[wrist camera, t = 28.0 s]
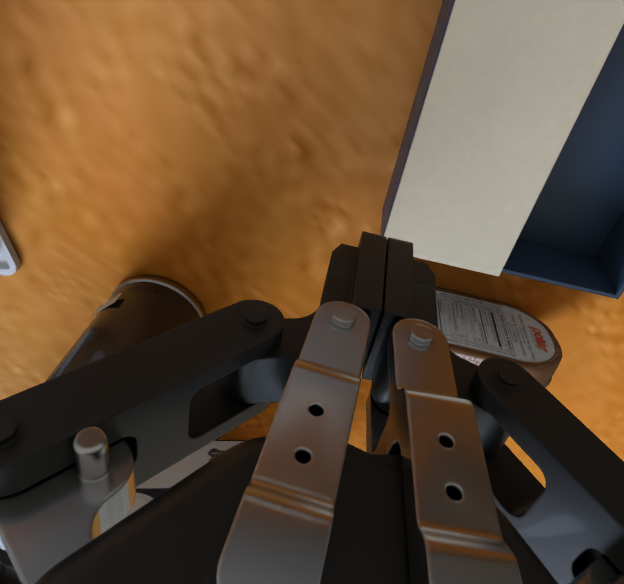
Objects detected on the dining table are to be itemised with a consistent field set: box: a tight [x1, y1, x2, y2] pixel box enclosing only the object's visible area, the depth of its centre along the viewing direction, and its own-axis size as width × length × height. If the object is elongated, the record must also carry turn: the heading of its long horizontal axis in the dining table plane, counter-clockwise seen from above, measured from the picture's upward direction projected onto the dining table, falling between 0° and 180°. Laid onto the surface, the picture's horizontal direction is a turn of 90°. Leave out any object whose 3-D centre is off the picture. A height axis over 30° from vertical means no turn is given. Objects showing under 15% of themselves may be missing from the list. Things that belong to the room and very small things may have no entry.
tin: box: [435, 287, 562, 388], centre depth 40 cm, size 15×3×8 cm, turn 80°
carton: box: [380, 0, 624, 299], centre depth 32 cm, size 18×17×5 cm
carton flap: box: [384, 0, 624, 277], centre depth 29 cm, size 18×8×1 cm, turn 170°
